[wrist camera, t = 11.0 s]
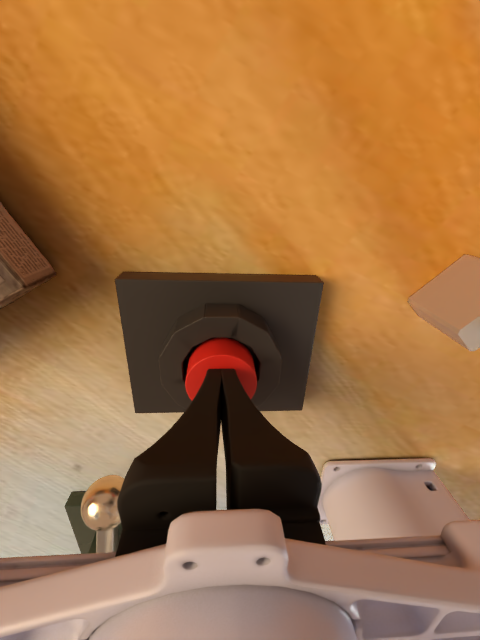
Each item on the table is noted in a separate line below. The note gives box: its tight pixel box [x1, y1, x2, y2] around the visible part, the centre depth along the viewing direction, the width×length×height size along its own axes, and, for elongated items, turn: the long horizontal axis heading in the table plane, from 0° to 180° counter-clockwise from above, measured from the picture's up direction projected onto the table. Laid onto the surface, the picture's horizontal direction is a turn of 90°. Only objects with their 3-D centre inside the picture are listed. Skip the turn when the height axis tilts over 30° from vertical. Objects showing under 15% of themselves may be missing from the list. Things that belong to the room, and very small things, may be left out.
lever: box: [81, 475, 124, 553], centre depth 19 cm, size 12×3×3 cm, turn 177°
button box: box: [115, 272, 324, 413], centre depth 17 cm, size 11×9×3 cm
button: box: [185, 338, 257, 401], centre depth 15 cm, size 4×4×2 cm
